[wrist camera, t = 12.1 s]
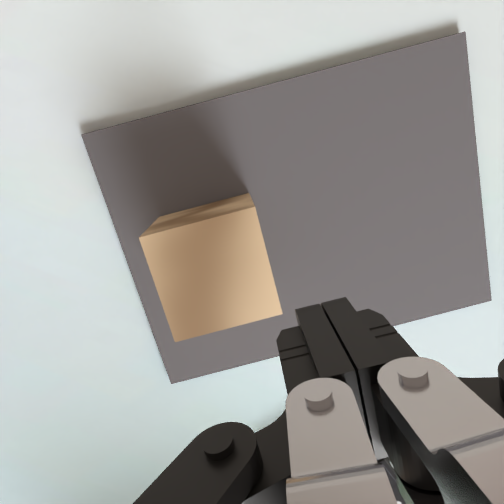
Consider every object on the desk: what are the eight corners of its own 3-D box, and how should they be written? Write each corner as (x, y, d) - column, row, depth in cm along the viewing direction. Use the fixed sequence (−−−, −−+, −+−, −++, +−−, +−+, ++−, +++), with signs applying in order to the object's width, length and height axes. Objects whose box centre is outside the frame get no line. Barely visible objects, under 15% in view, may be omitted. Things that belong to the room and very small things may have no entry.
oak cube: (138, 237, 20) (159, 216, 25) (174, 342, 21) (186, 299, 27) (255, 206, 20) (249, 192, 25) (282, 314, 21) (270, 277, 27)
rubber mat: (459, 34, 24) (465, 31, 24) (486, 297, 29) (491, 300, 28) (84, 134, 25) (81, 134, 24) (172, 379, 29) (171, 383, 29)
